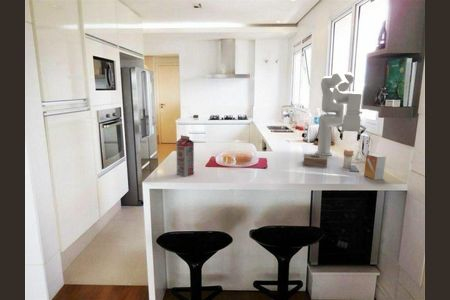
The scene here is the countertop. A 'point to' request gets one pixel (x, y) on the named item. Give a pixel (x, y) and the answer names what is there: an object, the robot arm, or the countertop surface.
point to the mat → (353, 169)
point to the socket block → (315, 160)
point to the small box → (374, 166)
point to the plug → (347, 158)
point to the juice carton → (185, 157)
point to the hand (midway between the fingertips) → (349, 140)
